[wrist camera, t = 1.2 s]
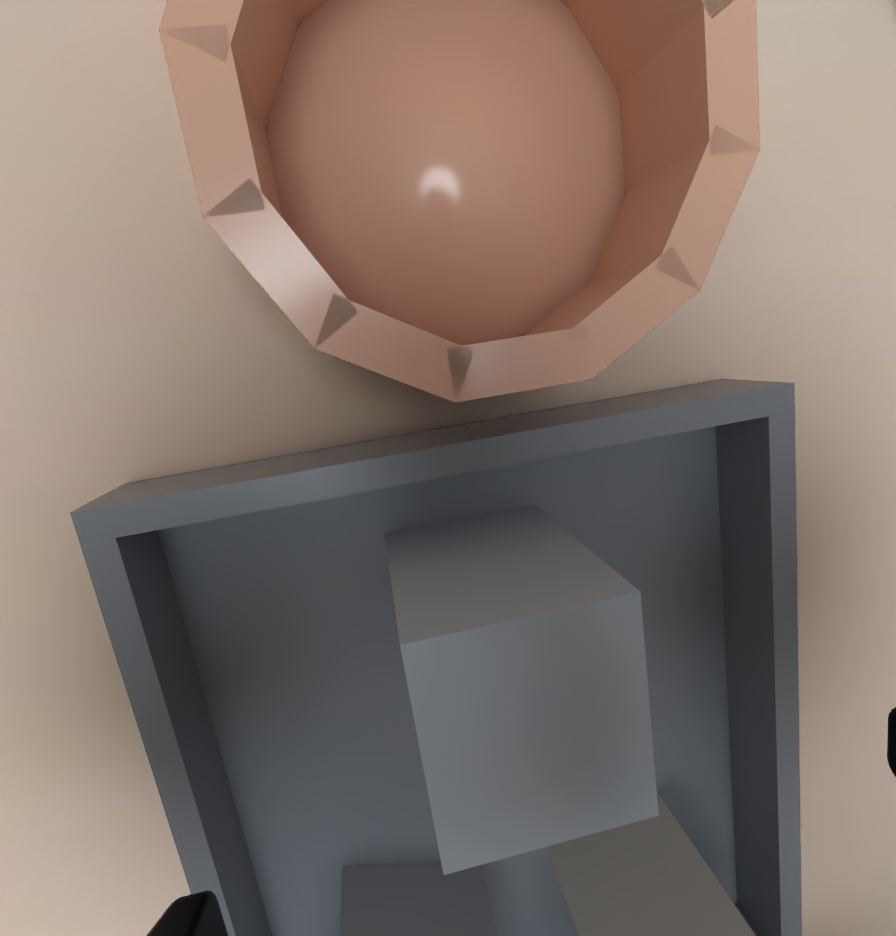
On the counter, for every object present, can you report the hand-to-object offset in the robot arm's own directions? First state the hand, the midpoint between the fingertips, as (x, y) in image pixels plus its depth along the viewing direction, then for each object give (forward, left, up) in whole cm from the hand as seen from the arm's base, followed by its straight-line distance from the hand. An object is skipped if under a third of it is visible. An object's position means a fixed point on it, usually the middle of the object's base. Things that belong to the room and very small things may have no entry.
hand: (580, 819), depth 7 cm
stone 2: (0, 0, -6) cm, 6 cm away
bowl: (+10, -1, -7) cm, 12 cm away
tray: (-4, 0, -7) cm, 8 cm away
